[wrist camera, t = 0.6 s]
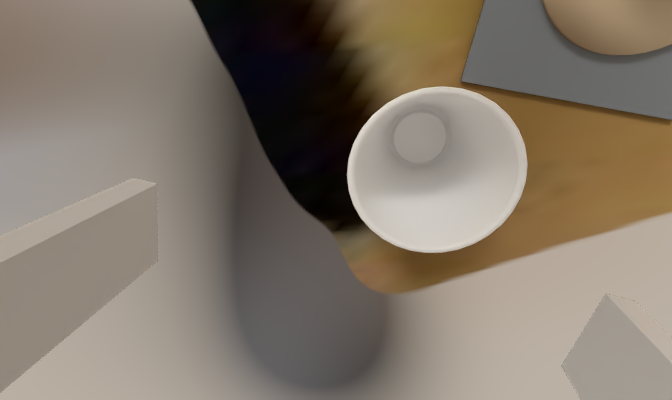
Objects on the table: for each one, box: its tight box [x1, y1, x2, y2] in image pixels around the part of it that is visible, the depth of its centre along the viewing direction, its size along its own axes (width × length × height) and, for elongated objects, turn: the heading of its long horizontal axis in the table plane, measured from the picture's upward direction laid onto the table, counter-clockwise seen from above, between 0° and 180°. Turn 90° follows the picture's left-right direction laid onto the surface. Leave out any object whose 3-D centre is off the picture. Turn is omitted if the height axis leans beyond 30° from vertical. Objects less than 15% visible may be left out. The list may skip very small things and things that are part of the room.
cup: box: [347, 86, 528, 253], centre depth 24 cm, size 10×10×11 cm
